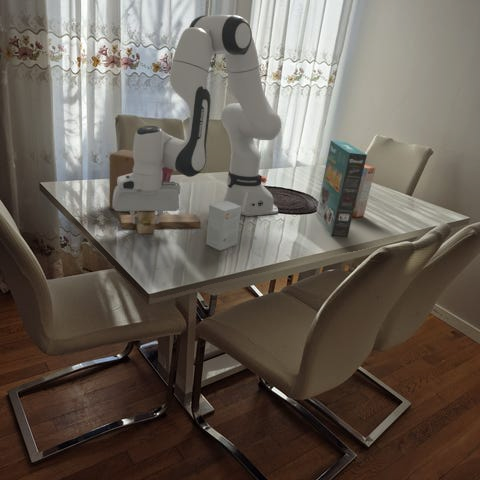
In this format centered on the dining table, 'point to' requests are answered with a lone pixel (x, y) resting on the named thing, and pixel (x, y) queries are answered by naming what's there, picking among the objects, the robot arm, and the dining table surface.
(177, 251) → the dining table surface
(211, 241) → the small box
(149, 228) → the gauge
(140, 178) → the robot arm
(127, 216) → the plank
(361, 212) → the cracker box
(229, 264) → the dining table surface
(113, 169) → the wooden block
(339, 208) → the cake mix box
